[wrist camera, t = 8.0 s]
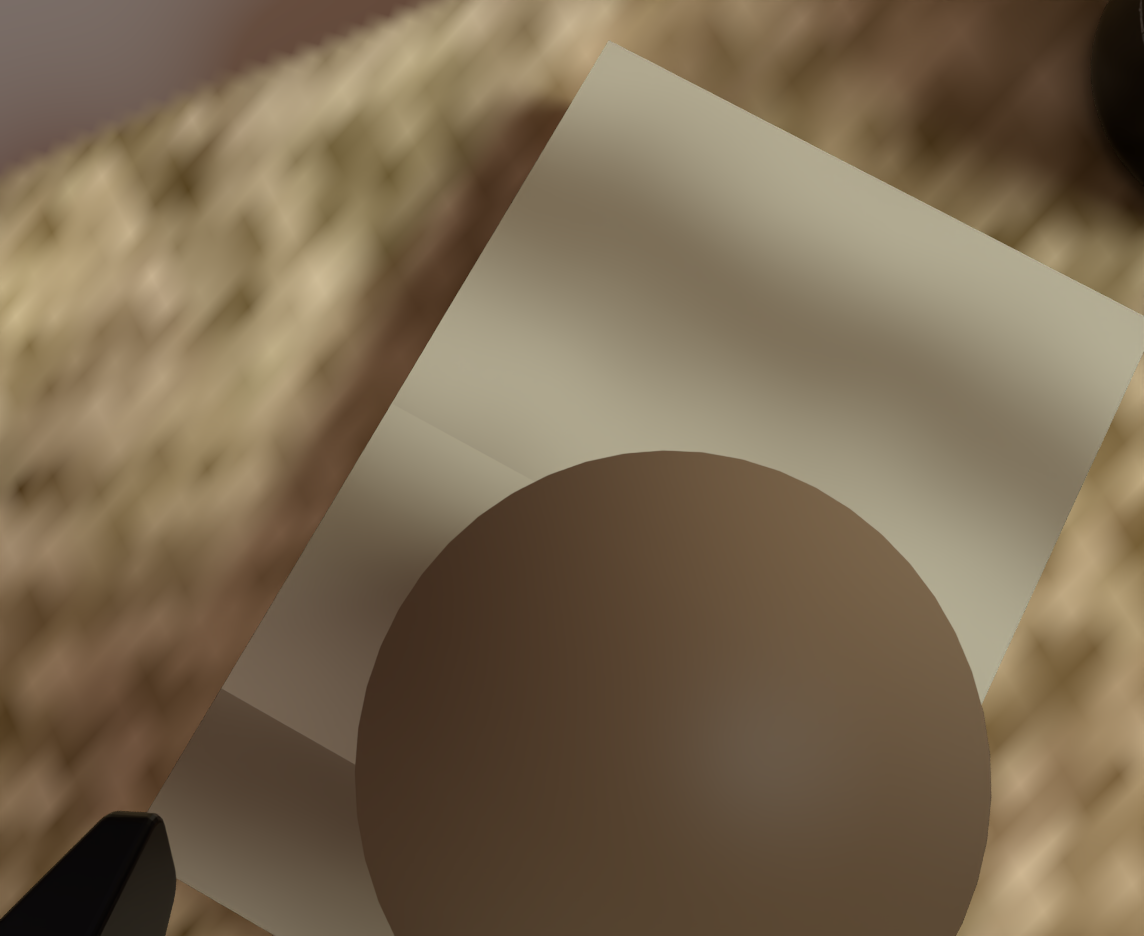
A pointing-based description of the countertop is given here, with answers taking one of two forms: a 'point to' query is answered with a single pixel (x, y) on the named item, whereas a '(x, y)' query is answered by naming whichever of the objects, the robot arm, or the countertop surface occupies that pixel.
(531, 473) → the board
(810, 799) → the walnut peg
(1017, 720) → the countertop surface
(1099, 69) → the supplement bottle
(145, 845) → the robot arm
